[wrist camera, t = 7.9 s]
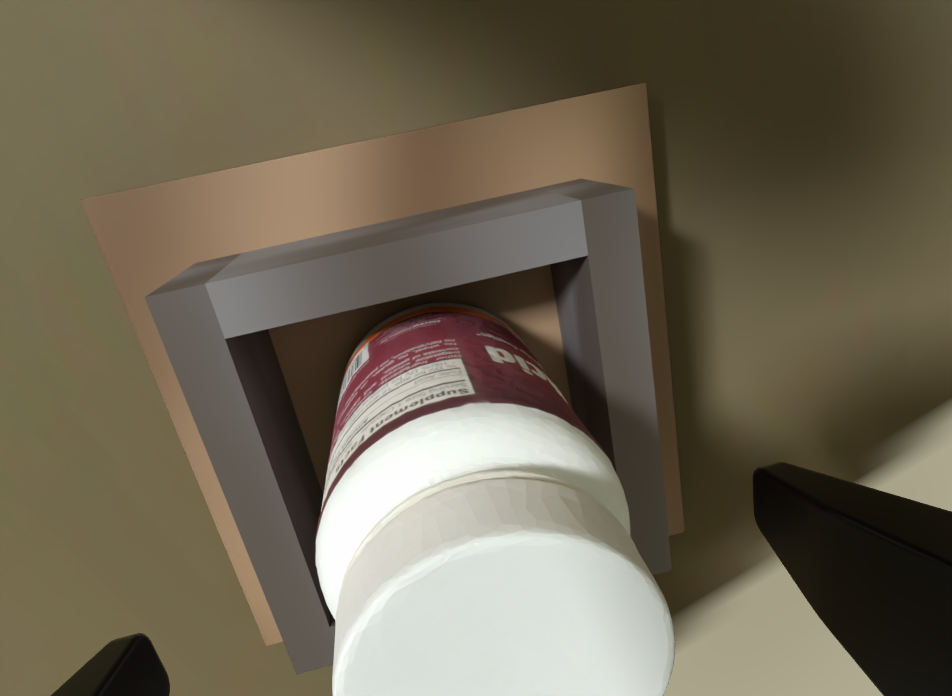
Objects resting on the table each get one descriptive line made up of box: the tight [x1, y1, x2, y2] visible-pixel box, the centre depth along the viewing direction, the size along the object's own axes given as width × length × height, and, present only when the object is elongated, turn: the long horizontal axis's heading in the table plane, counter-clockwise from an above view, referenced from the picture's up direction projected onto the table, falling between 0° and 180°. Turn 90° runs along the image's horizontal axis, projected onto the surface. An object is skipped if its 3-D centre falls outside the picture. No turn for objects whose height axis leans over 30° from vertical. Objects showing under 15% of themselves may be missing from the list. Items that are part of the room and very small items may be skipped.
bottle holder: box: [80, 83, 685, 674], centre depth 14 cm, size 12×12×4 cm
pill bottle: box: [315, 302, 675, 696], centre depth 11 cm, size 5×5×8 cm
